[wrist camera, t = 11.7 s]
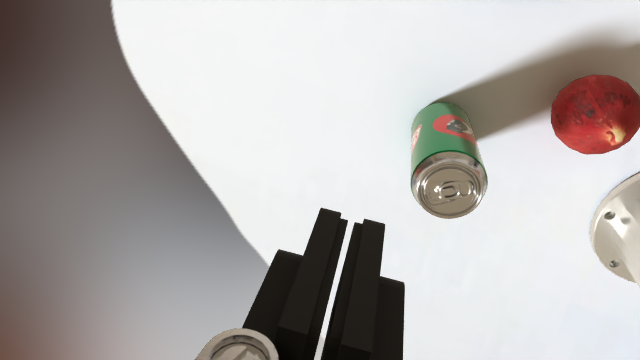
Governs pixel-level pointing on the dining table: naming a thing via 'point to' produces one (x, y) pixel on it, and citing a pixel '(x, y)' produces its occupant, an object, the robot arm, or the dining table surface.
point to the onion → (596, 114)
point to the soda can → (446, 162)
